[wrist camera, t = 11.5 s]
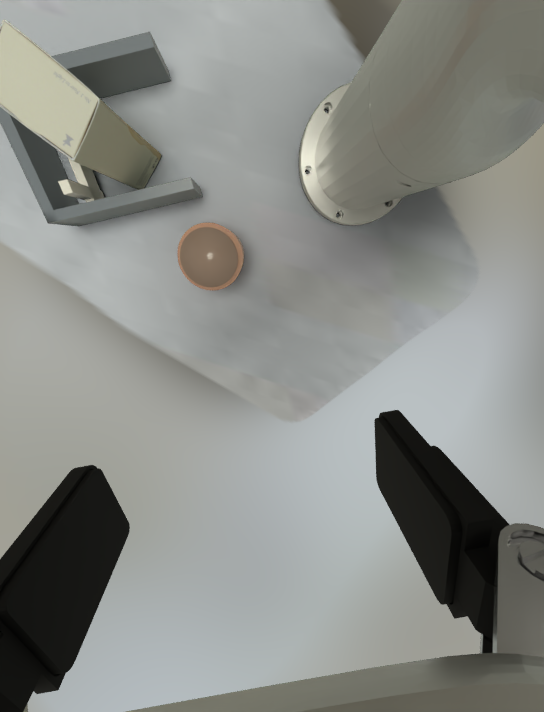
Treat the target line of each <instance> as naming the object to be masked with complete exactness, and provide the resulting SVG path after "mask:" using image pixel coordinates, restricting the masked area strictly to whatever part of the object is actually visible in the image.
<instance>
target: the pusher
mask: <svg viewBox="0 0 544 712" xmlns="http://www.w3.org/2000/svg"><path fill="white" fill-rule="evenodd" d="M68 159H69V158H68ZM69 162H70V164H71V166H72V169H73V171H74V174H75V176H76V178H77V181H78V183H77V182H74V181H71V180H68V179H66V180H62V181H58V183H59V185H60V187H61V189H62V192H63V194H64V195H67V196H71V197H75V198H79V199H83V200H86V202H90V201H94V200H98V199H102V198H105V197H104V195H103V192H102V191H100V189H99V186H98V184H97V181H96V179H95V176H94V173H93V171H92V169H90V168H88V167H85V166H83V165H81V164H79V163H76V162H74V161H72V160H71V159H69Z"/></svg>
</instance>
